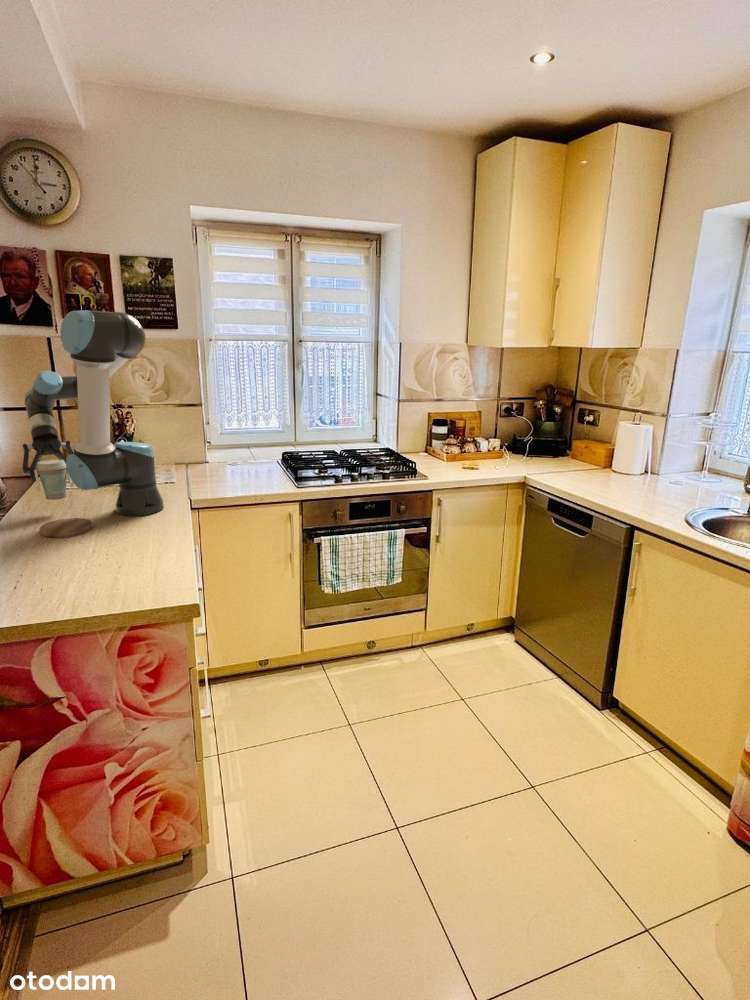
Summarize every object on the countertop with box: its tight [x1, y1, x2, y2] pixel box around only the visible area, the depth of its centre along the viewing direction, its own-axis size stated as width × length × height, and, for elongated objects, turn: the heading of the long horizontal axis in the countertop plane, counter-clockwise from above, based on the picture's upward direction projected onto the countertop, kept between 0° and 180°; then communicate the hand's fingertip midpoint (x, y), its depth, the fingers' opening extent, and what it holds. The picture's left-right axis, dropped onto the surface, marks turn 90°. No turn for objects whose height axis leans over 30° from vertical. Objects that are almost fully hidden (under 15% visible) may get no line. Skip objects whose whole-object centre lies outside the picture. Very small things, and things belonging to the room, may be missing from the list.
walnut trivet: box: [39, 517, 93, 539], centre depth 169 cm, size 14×14×2 cm
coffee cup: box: [36, 458, 67, 501], centre depth 180 cm, size 8×8×12 cm
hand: (55, 487), depth 178 cm, fingers closed on coffee cup, 8 cm apart
